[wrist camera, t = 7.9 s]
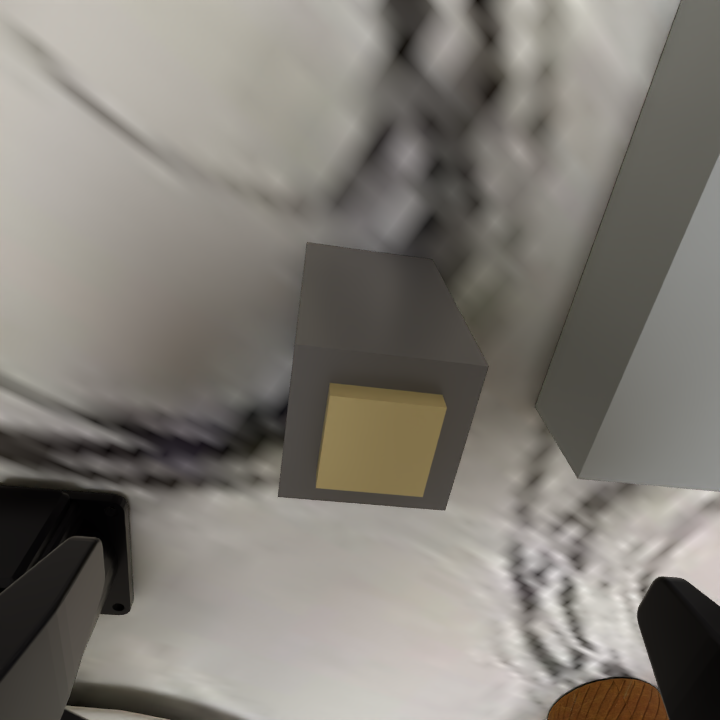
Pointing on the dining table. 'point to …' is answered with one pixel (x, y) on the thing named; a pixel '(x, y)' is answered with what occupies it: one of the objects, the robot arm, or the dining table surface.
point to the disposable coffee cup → (611, 702)
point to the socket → (652, 290)
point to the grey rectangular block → (378, 382)
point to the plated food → (109, 714)
